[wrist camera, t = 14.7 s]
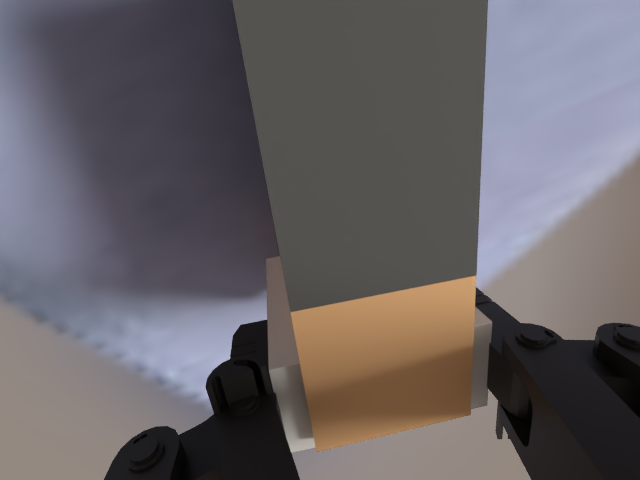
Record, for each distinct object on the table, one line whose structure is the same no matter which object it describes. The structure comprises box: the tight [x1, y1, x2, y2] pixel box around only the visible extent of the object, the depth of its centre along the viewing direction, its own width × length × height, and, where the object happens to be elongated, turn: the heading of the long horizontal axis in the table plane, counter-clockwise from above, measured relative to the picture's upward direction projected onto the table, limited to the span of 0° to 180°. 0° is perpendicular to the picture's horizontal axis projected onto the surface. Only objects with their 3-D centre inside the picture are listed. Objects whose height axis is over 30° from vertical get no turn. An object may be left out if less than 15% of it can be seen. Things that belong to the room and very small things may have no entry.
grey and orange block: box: [232, 0, 488, 452], centre depth 10 cm, size 12×4×8 cm, turn 7°
